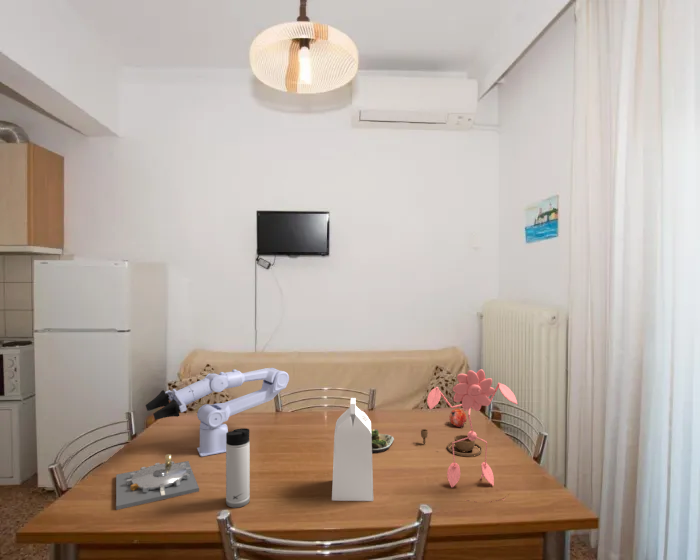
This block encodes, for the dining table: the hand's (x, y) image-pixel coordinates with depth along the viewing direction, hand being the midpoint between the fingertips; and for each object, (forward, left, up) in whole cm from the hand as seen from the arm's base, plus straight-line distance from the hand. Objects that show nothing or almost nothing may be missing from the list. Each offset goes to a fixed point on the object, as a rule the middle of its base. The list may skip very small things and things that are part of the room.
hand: (150, 412), depth 141 cm
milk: (-51, +45, -18) cm, 70 cm away
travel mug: (-20, +36, -18) cm, 45 cm away
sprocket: (-2, +13, -16) cm, 21 cm away
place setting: (-99, +35, -19) cm, 106 cm away
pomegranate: (-116, +18, -18) cm, 119 cm away
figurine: (-82, +62, -18) cm, 104 cm away
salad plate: (-73, +17, -18) cm, 77 cm away
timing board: (-1, +14, -18) cm, 23 cm away
